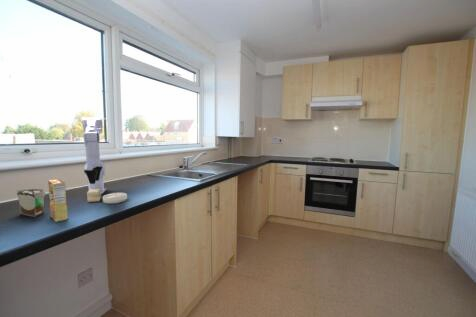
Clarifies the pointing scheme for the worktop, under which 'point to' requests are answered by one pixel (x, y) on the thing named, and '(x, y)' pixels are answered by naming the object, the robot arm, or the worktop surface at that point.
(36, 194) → the food container
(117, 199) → the ceramic plinth
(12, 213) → the worktop surface
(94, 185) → the robot arm
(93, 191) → the beech block
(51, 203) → the candy box
